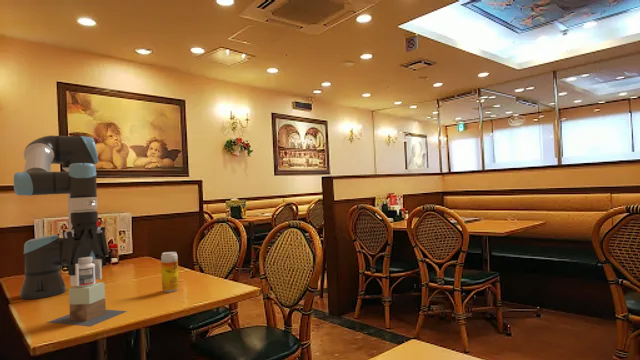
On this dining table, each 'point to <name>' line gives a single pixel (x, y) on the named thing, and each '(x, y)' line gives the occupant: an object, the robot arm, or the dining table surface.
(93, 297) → the block upper
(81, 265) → the pill bottle
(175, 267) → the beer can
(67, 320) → the mat
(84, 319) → the block lower
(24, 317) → the dining table surface
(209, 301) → the dining table surface
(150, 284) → the dining table surface
